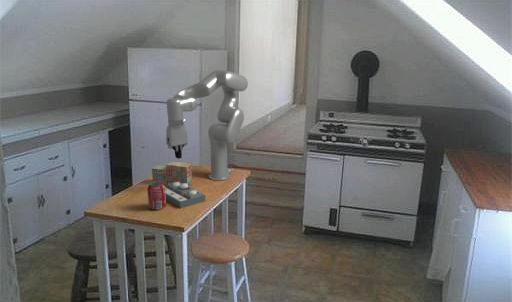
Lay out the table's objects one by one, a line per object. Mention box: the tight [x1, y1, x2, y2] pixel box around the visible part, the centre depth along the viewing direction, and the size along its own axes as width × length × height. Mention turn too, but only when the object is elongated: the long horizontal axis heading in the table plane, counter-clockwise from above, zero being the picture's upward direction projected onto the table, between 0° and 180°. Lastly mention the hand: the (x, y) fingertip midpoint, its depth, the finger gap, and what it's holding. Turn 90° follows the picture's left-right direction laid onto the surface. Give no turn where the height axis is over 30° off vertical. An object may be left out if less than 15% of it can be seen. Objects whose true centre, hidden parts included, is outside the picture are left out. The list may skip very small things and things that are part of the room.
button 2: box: [188, 189, 198, 195], centre depth 193 cm, size 4×4×2 cm
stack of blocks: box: [151, 161, 193, 188], centre depth 217 cm, size 21×6×12 cm, turn 73°
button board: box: [165, 183, 206, 209], centre depth 198 cm, size 14×23×5 cm, turn 41°
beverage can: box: [147, 181, 167, 211], centre depth 185 cm, size 8×8×12 cm
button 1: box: [172, 182, 180, 187], centre depth 205 cm, size 4×4×2 cm
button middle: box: [180, 183, 188, 189], centre depth 199 cm, size 4×4×2 cm
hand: (178, 157), depth 203 cm, fingers closed
